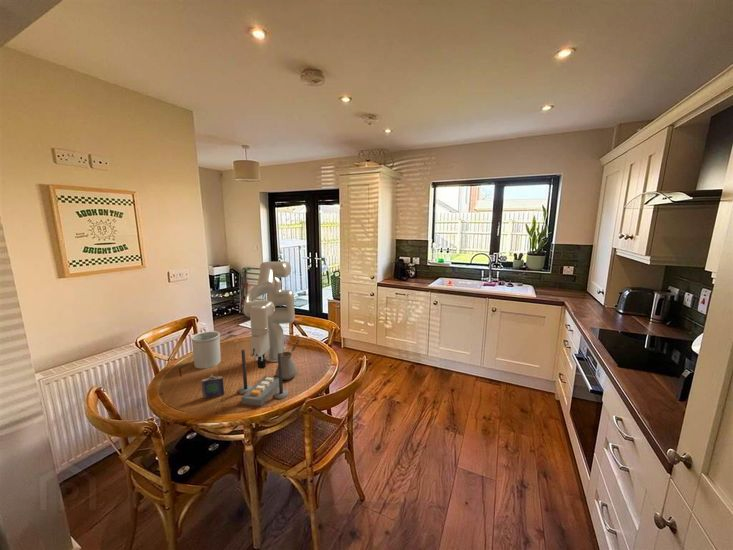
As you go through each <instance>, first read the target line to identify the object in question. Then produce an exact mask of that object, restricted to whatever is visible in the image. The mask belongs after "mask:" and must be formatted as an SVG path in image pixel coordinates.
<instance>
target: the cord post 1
mask: <svg viewBox="0 0 733 550" xmlns="http://www.w3.org/2000/svg"><path fill="white" fill-rule="evenodd" d="M240 351H241V352H240V353H241V365H242V379H243V385H242V386H240V387H239V388H238V393H239V394H240V395H245V394H246V393H247V392H248V391H249V390H250V389H251V388H252V387H253V386H252V385H251V384H248V376H247V364H246V363H247V361H246V349H241V350H240Z"/></svg>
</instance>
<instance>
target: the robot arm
mask: <svg viewBox="0 0 733 550" xmlns="http://www.w3.org/2000/svg"><path fill="white" fill-rule="evenodd" d="M291 270H292V267H291V263H290V262H289V261H264V262H261V263H260V265H259V274H258V280H257V284H255V285H254V286H253V287H252V288H251V289H249V291H248V292H247V293H246V296H245V299H244V303H243V313H244V315H245V316H246V317H248V318H249V319H250V334H251V336H250V340H249V341H250V343H249V355H250V357H253V361H257V368H258V369H262V370H263V369H265V368H266V367H267V366H266V361H267V362H270V363H278V353H283V352H285V350H286V349H287V346H285V340H284V328H283V326H281V325H282V324H284V325H286V324H292V323H294V321H295V318H296V317H295V313H296V312H295V294H294V292H293V291H292V290H290V289H282V281H281V279H280V278H287V277H289V275H290V274H291V272H292V271H291ZM264 295H266V300H257V301H255V299H257V298H258V297H260V296H264ZM278 306H279V307H278ZM282 306H285V307H282Z"/></svg>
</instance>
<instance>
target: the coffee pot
mask: <svg viewBox="0 0 733 550" xmlns="http://www.w3.org/2000/svg"><path fill="white" fill-rule="evenodd" d="M299 344H300V340H299V339H297V341H296V342H295V343H294V345H293V347H292V350H291V351H284V352H283V353H281V360H282V381H288V380H291V379H293V378H294V377H296V375H297V374H298V373H297V372H298V369H297V367H296V364H295V362H294V361H293V359H292V355H293V352H294V351H295V349H296V347H297V345H299ZM274 373H275V377H278V378H279V372H278V366H277V368H276V370H275V372H274Z"/></svg>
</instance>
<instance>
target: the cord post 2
mask: <svg viewBox="0 0 733 550" xmlns="http://www.w3.org/2000/svg"><path fill="white" fill-rule="evenodd" d="M277 367H278V372H279V388H278V389H277V390H276V391H275V392H274V393H273V395H274V396H273V397H274V399H277V400H283V399H285V398H287V397H288V395H289V390H288V389H284V388H283V387H284V385H283V384H284V383H283V380H282V360H281V353H278V362H277Z"/></svg>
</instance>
